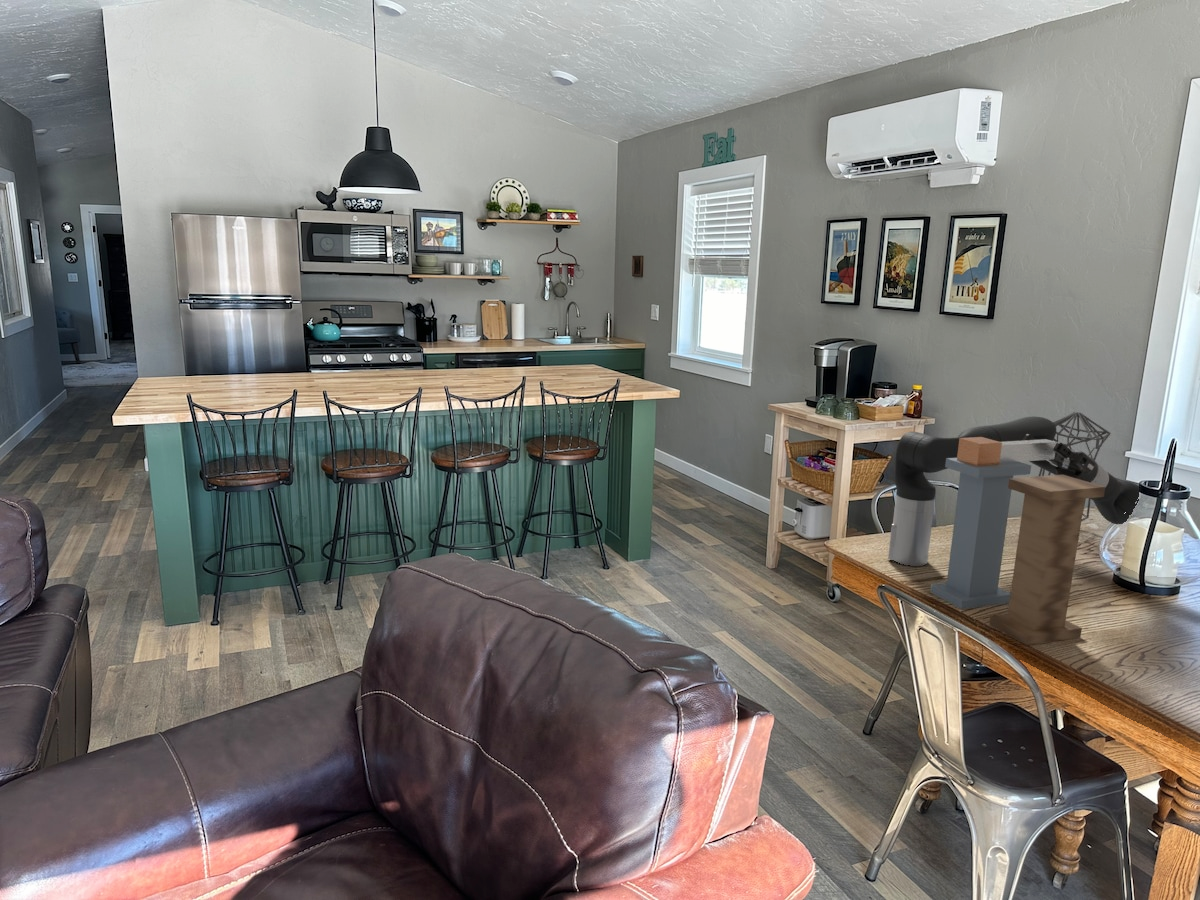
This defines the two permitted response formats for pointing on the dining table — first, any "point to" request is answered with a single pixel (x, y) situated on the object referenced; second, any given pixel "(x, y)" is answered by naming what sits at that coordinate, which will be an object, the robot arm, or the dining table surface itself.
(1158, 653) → the dining table surface
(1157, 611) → the dining table surface
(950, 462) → the post
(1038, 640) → the walnut post
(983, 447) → the bar
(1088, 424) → the geometric lantern
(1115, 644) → the dining table surface
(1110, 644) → the dining table surface
